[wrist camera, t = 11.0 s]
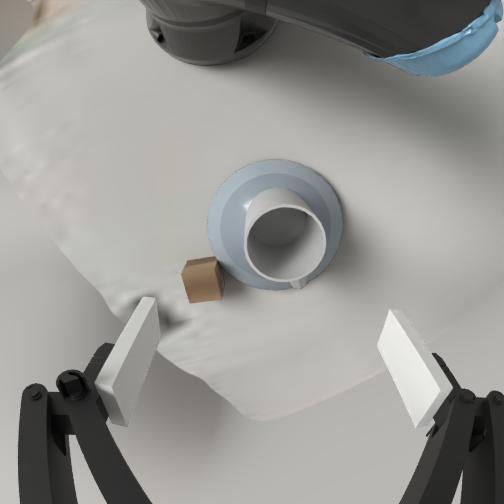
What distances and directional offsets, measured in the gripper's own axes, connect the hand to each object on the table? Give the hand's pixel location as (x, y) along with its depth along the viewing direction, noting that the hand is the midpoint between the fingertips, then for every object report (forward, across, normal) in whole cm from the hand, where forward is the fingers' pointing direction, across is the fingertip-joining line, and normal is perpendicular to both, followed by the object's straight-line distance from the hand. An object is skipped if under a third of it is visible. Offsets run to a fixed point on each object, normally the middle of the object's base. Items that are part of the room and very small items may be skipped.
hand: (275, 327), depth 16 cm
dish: (+21, +2, -1) cm, 21 cm away
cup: (+20, +2, -1) cm, 20 cm away
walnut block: (+21, -7, -8) cm, 23 cm away
